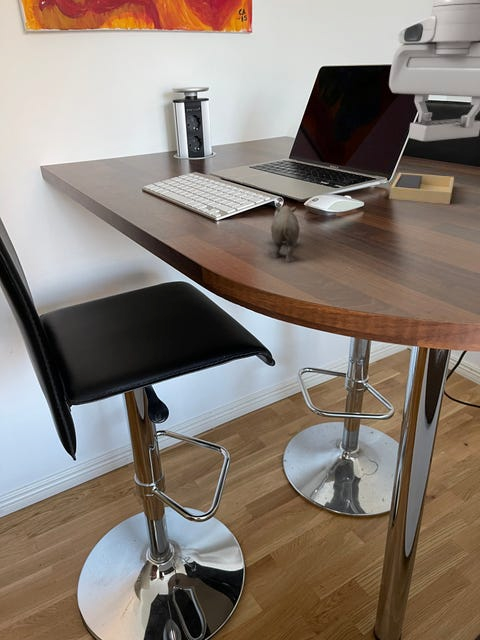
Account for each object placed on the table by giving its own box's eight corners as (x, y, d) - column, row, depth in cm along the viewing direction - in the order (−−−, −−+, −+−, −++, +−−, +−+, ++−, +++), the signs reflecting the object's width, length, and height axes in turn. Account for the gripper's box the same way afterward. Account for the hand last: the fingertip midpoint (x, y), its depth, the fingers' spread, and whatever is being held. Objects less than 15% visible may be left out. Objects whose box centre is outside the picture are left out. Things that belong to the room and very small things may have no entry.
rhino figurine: (297, 232, 82) (299, 195, 79) (298, 264, 70) (301, 222, 67) (272, 231, 82) (273, 195, 79) (269, 263, 70) (270, 222, 67)
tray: (397, 184, 110) (399, 172, 109) (451, 188, 106) (454, 176, 105) (388, 199, 99) (390, 187, 97) (449, 205, 95) (451, 192, 94)
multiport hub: (407, 137, 83) (409, 122, 82) (461, 132, 86) (463, 118, 85) (424, 141, 80) (426, 126, 78) (479, 136, 83) (482, 121, 81)
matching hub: (401, 183, 108) (402, 174, 107) (420, 185, 107) (422, 175, 106) (394, 196, 99) (396, 186, 98) (415, 198, 98) (417, 187, 97)
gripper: (541, 25, 71) (518, 128, 78) (409, 30, 83) (398, 119, 90) (526, 25, 67) (502, 134, 74) (389, 31, 80) (380, 123, 86)
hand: (444, 125), depth 82 cm, fingers closed on multiport hub, 6 cm apart
